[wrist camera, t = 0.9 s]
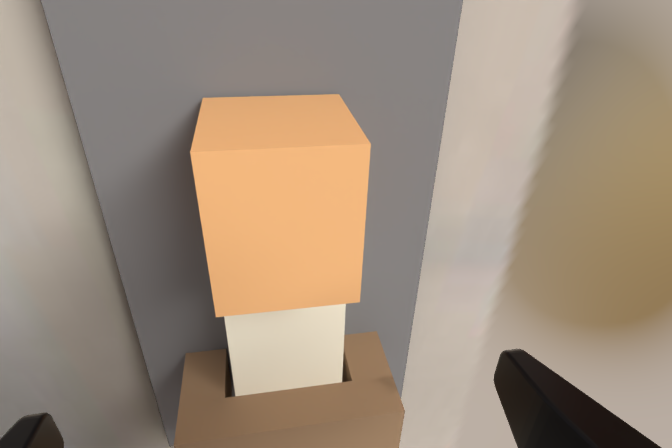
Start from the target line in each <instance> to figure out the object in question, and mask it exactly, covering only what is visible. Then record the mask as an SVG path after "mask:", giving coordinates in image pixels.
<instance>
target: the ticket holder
mask: <svg viewBox="0 0 672 448" xmlns="http://www.w3.org/2000/svg"><path fill="white" fill-rule="evenodd" d="M41 2H42V6H43V9H44V12H45V16H46V19H47V23H48V26H49V30H50V33H51V37H52V40H53V44H54V47H55V51H56V54H57V58H58V61H59V64H60V68H61V71H62V75H63V78H64V82H65V85H66V89H67V92H68V96H69V99H70V103H71V106H72V110H73V113H74V117H75V120H76V123H77V127H78V130H79V134H80V137H81V141H82V144H83V148H84V151H85V155H86V158H87V162H88V165H89V169H90V172H91V175H92V179H93V182H94V186H95V189H96V193H97V196H98V200H99V203H100V207H101V210H102V214H103V217H104V221H105V224H106V228H107V231H108V234H109V238H110V241H111V245H112V248H113V252H114V255H115V259H116V262H117V266H118V269H119V273H120V276H121V280H122V283H123V286H124V290H125V293H126V297H127V300H128V304H129V307H130V311H131V314H132V318H133V321H134V325H135V328H136V332H137V335H138V339H139V342H140V345H141V349H142V352H143V356H144V359H145V363H146V366H147V370H148V373H149V377H150V380H151V384H152V387H153V391H154V394H155V397H156V401H157V404H158V408H159V411H160V415H161V418H162V422H163V425H164V429H165V432H166V436H167V439H168V443H169V446H174V448H399V443H400V437H401V431H402V425H403V419H404V413H405V410H404V407H403V405H402V402H401V395H402V388H403V382H404V375H405V369H406V362H407V356H408V350H409V343H410V337H411V330H412V324H413V317H414V311H415V305H416V298H417V292H418V285H419V279H420V272H421V266H422V260H423V253H424V247H425V240H426V234H427V227H428V221H429V215H430V208H431V202H432V195H433V189H434V183H435V176H436V170H437V163H438V157H439V150H440V144H441V138H442V131H443V125H444V118H445V112H446V105H447V99H448V93H449V86H450V80H451V73H452V67H453V60H454V54H455V48H456V41H457V35H458V28H459V22H460V15H461V9H462V3H463V0H41ZM324 94H339V95H340V97H341V98H342V100H343V101H344V103H345V104H346V106H347V107H348V109H349V111H350V112H351V114H352V115H353V117H354V118H355V120H356V121H357V123H358V125H359V126H360V128H361V129H362V131H363V132H364V134H365V135H366V137H367V139H368V140H369V142H370V143H371V149H370V164H369V178H368V193H367V207H366V222H365V236H364V250H363V265H362V279H361V294H360V302H358V303H348V304H338V305H329V306H319V307H310V308H300V309H291V310H281V311H271V312H262V313H252V314H243V315H233V316H223V317H216V314H215V308H214V302H213V295H212V289H211V282H210V276H209V270H208V263H207V257H206V250H205V244H204V238H203V231H202V225H201V218H200V212H199V206H198V199H197V193H196V186H195V180H194V174H193V167H192V161H191V154H190V150H191V146H192V142H193V138H194V133H195V129H196V125H197V120H198V116H199V112H200V107H201V103H202V99H203V98H213V97H250V96H287V95H324Z"/></svg>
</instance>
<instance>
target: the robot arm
mask: <svg viewBox="0 0 672 448" xmlns="http://www.w3.org/2000/svg"><path fill="white" fill-rule="evenodd" d="M494 384H495V387H496V390H497V393H498V395H499V398H500V401H501V404H502V406H503V409H504V412H505V414H506V417H507V420H508V422H509V425H510V428H511V431H512V433H513V436H514V439H515V441H516V444H517V446H518V448H661V447H660V446H658V445H657V444H655V443H654V442H653V441H651V440H650V439H648V438H647V437H646V436H644V435H643V434H641V433H640V432H638V431H637V430H636V429H634V428H633V427H631V426H630V425H629V424H627V423H626V422H624V421H623V420H621V419H620V418H619V417H617V416H616V415H614V414H613V413H611V412H610V411H609V410H607V409H606V408H604V407H603V406H602V405H600V404H599V403H597V402H596V401H595V400H593V399H592V398H590V397H589V396H588V395H586V394H585V393H583V392H582V391H580V390H579V389H577V388H576V387H575V386H573V385H572V384H571V383H569V382H568V381H566V380H565V379H563V378H562V377H560V376H559V375H558V374H556V373H555V372H553V371H552V370H551V369H549V368H548V367H547V366H545V365H544V364H542V363H541V362H539V361H538V360H537V359H535V358H534V357H532V356H531V355H530V354H528V353H527V352H525V351H524V350H521V349H513V350H505V351H503V352H502V353H501V354H500V357H499V361H498V364H497V367H496V371H495V374H494ZM0 448H64V442H63V438H62V436H61V434H60V432H59V430H58V428H57V426H56V424H55V422H54V420H53V418H52V416H51V415H50V414H48V413H39V414H32V415H27V416H24V417H22V418H21V419H19V420H18V421H17V422H16V423H15V424H14V425H13V426H12V427H11V428H10V430H9V431H8V432H7V433H6V434H5V435H4V436H3V437H2V438H1V439H0Z"/></svg>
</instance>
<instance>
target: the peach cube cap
mask: <svg viewBox="0 0 672 448" xmlns="http://www.w3.org/2000/svg"><path fill="white" fill-rule="evenodd" d="M370 149H371V143H370V142H369V140H368V139H367V137H366V135H365V134H364V132H363V131H362V129H361V128H360V126H359V125H358V123H357V121H356V120H355V118H354V117H353V115H352V114H351V112H350V111H349V109H348V107H347V106H346V104H345V103H344V101H343V100H342V98H341V97H340V95H339V94H324V95H287V96H250V97H213V98H203V99H202V103H201V107H200V112H199V116H198V120H197V125H196V129H195V133H194V138H193V142H192V146H191V150H190V154H191V161H192V167H193V174H194V180H195V186H196V193H197V199H198V206H199V212H200V218H201V225H202V231H203V238H204V244H205V250H206V257H207V263H208V270H209V276H210V282H211V289H212V295H213V302H214V308H215V314H216V317H223V316H233V315H243V314H252V313H262V312H271V311H281V310H291V309H300V308H310V307H319V306H329V305H338V304H348V303H358V302H360V294H361V279H362V265H363V250H364V236H365V222H366V207H367V193H368V178H369V164H370Z"/></svg>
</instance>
